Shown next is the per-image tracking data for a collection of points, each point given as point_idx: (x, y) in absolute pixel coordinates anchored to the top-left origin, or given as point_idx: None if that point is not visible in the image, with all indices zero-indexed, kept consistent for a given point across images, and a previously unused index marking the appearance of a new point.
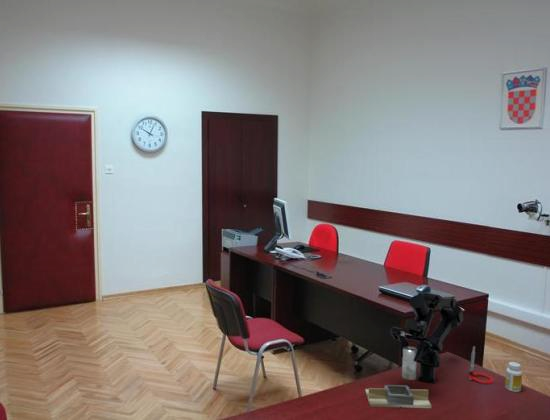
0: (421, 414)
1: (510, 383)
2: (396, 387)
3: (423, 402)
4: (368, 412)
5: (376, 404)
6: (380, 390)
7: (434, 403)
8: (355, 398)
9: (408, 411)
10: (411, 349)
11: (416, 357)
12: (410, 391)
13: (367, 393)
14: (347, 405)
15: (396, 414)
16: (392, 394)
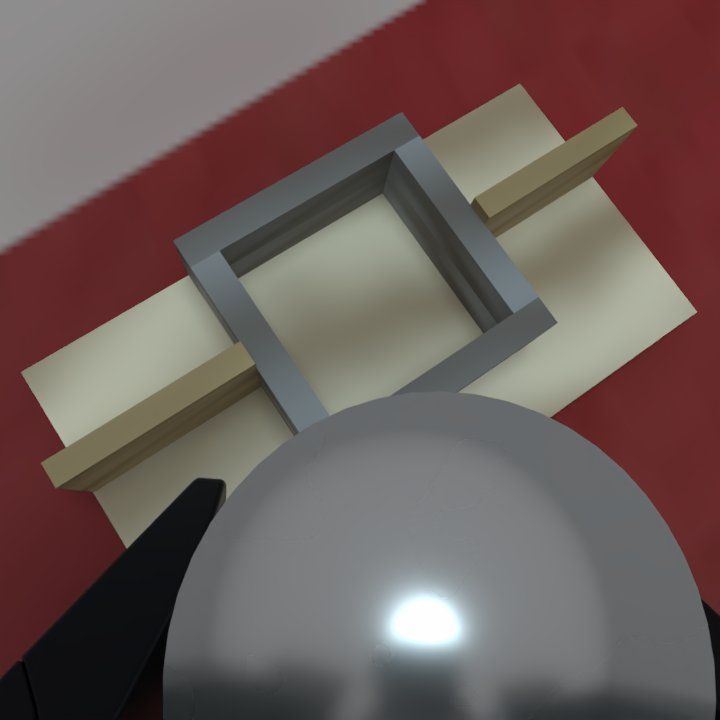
0: (91, 215)
1: None
2: (426, 372)
3: (112, 386)
4: (481, 15)
5: (477, 108)
6: (524, 171)
7: (26, 501)
8: (677, 158)
9: (210, 201)
10: (392, 666)
11: (170, 526)
12: (245, 341)
13: (636, 240)
14: (661, 25)
15: (282, 100)
16: (440, 361)
